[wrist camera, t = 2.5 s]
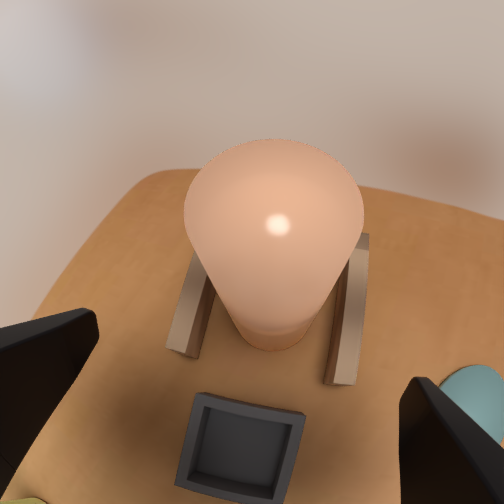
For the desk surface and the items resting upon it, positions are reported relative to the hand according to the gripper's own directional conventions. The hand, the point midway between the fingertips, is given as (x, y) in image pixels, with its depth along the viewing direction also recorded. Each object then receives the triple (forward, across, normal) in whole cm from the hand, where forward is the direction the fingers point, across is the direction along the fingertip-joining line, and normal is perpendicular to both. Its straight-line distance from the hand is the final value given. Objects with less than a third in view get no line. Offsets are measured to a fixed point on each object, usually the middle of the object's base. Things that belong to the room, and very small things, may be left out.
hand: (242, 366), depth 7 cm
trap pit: (+4, 0, +11) cm, 12 cm away
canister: (+11, 0, +5) cm, 12 cm away
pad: (+6, -16, +9) cm, 19 cm away
